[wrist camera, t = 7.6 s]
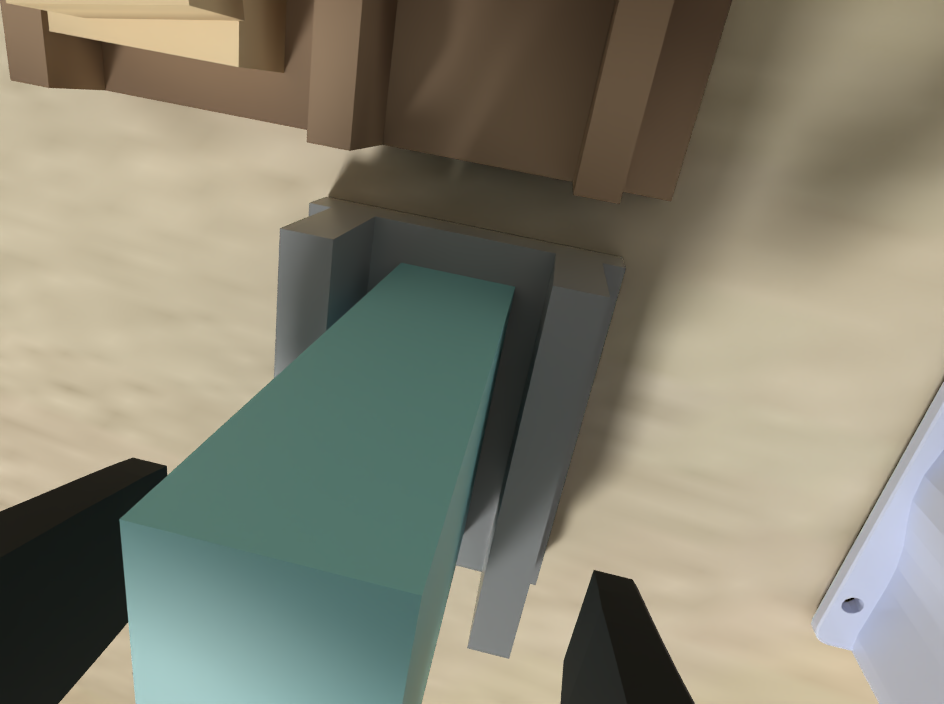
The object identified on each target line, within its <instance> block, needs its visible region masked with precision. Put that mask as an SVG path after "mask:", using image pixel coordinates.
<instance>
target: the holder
mask: <svg viewBox="0 0 944 704" xmlns="http://www.w3.org/2000/svg"><path fill="white" fill-rule="evenodd" d="M400 263H405V264H410V265H415V266H419V267H424V268H429V269H434V270H438V271H443V272H448V273H453V274H457V275H462V276H467V277H471V278H476V279H481V280H486V281H490V282H495V283H500V284H505V285H509V286H514V287H515V291H514V296H513V300H512V305H511V310H510V315H509V320H508V324H507V329H506V334H505V339H504V343H503V348H502V353H501V358H500V362H499V367H498V372H497V377H496V381H495V386H494V391H493V396H492V401H491V405H490V410H489V415H488V420H487V424H486V429H485V434H484V439H483V443H482V448H481V453H480V458H479V463H478V467H477V472H476V477H475V482H474V486H473V491H472V496H471V501H470V505H469V510H468V515H467V520H466V524H465V529H464V534H463V538H462V542H461V546H460V550H459V554H458V558H457V562H456V565H457V566H461V567H465V568H469V569H473V570H477V571H481V572H482V573H481V578H480V584H479V589H478V594H477V599H476V605H475V610H474V615H473V621H472V626H471V631H470V637H469V642H468V647H467V648H469V649H473V650H477V651H481V652H485V653H488V654H492V655H496V656H500V657H504V658H508V659H509V657H510V653H511V650H512V646H513V643H514V639H515V635H516V632H517V628H518V625H519V621H520V618H521V614H522V610H523V607H524V603H525V600H526V596H527V593H528V589H529V585H530V584H533V585H536V582H537V578H538V575H539V571H540V568H541V564H542V561H543V557H544V554H545V550H546V547H547V543H548V539H549V536H550V532H551V529H552V525H553V522H554V518H555V515H556V511H557V508H558V504H559V501H560V497H561V494H562V490H563V487H564V483H565V480H566V476H567V473H568V469H569V466H570V462H571V459H572V455H573V452H574V448H575V445H576V441H577V438H578V434H579V431H580V427H581V424H582V420H583V417H584V413H585V410H586V406H587V403H588V399H589V396H590V392H591V389H592V385H593V382H594V378H595V375H596V371H597V368H598V364H599V361H600V357H601V354H602V350H603V347H604V343H605V340H606V336H607V333H608V329H609V326H610V322H611V319H612V315H613V312H614V308H615V305H616V301H617V298H618V294H619V291H620V287H621V284H622V280H623V276H624V273H625V269H626V267H625V264H624V261H623V258H622V257H619V256H614V255H609V254H604V253H599V252H594V251H590V250H585V249H580V248H575V247H570V246H565V245H560V244H555V243H550V242H546V241H541V240H536V239H531V238H526V237H521V236H516V235H511V234H506V233H501V232H497V231H492V230H487V229H482V228H477V227H472V226H467V225H462V224H457V223H453V222H448V221H443V220H438V219H433V218H428V217H423V216H418V215H413V214H409V213H404V212H399V211H394V210H389V209H384V208H379V207H374V206H369V205H365V204H360V203H355V202H350V201H345V200H340V199H335V198H330V197H325V198H322V199H319V200H316V201H313V202H311V203H309V217H307V218H304V219H302V220H299V221H297V222H294V223H292V224H289V225H287V226H285V227H282V228H280V242H279V267H278V293H277V318H276V343H275V368H274V378H275V377H276V376H277V375H278V374H280V373H281V372H282V371H283V370H284V369H285V368H286V367H287V366H288V365H289V364H290V363H292V362H293V361H294V360H295V359H296V358H297V357H298V356H299V355H300V354H301V353H303V352H304V351H305V350H306V349H307V348H308V347H309V346H310V345H311V344H312V343H314V342H315V341H316V340H317V339H318V338H319V337H320V336H321V335H322V334H323V333H325V332H326V331H327V330H328V329H329V328H330V327H331V326H332V325H333V324H334V323H336V322H337V321H338V320H339V319H340V318H341V317H342V316H343V315H344V314H345V313H347V312H348V311H349V310H350V309H351V308H352V307H353V306H354V305H355V304H356V303H357V302H359V301H360V300H361V299H362V298H363V297H364V296H365V295H366V294H367V293H368V292H370V291H371V290H372V289H373V288H374V287H375V286H376V285H377V284H378V283H379V282H381V281H382V280H383V279H384V278H385V277H386V276H387V275H388V274H389V273H390V272H392V271H393V270H394V269H395V268H396V267H397V266H398V265H399V264H400Z"/></svg>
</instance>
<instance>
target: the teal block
mask: <svg viewBox="0 0 944 704" xmlns="http://www.w3.org/2000/svg"><path fill="white" fill-rule="evenodd" d="M514 291H515V287H514V286H509V285H505V284H500V283H495V282H490V281H486V280H481V279H476V278H471V277H467V276H462V275H457V274H453V273H448V272H443V271H438V270H434V269H429V268H424V267H419V266H415V265H410V264H405V263H400V264H399V265H398V266H397V267H396V268H395V269H394V270H393V271H392V272H390V273H389V274H388V275H387V276H386V277H385V278H384V279H383V280H382V281H381V282H379V283H378V284H377V285H376V286H375V287H374V288H373V289H372V290H371V291H370V292H368V293H367V294H366V295H365V296H364V297H363V298H362V299H361V300H360V301H359V302H357V303H356V304H355V305H354V306H353V307H352V308H351V309H350V310H349V311H348V312H347V313H345V314H344V315H343V316H342V317H341V318H340V319H339V320H338V321H337V322H336V323H334V324H333V325H332V326H331V327H330V328H329V329H328V330H327V331H326V332H325V333H323V334H322V335H321V336H320V337H319V338H318V339H317V340H316V341H315V342H314V343H312V344H311V345H310V346H309V347H308V348H307V349H306V350H305V351H304V352H303V353H301V354H300V355H299V356H298V357H297V358H296V359H295V360H294V361H293V362H292V363H290V364H289V365H288V366H287V367H286V368H285V369H284V370H283V371H282V372H281V373H280V374H278V375H277V376H276V377H275V378H274V379H273V380H272V381H271V382H270V383H269V384H267V385H266V386H265V387H264V388H263V389H262V390H261V391H260V392H259V393H258V394H256V395H255V396H254V397H253V398H252V399H251V400H250V401H249V402H248V403H247V404H245V405H244V406H243V407H242V408H241V409H240V410H239V411H238V412H237V413H236V414H234V415H233V416H232V417H231V418H230V419H229V420H228V421H227V422H226V423H225V424H224V425H222V426H221V427H220V428H219V429H218V430H217V431H216V432H215V433H214V434H213V435H211V436H210V437H209V438H208V439H207V440H206V441H205V442H204V443H203V444H202V445H200V446H199V447H198V448H197V449H196V450H195V451H194V452H193V453H192V454H191V455H189V456H188V457H187V458H186V459H185V460H184V461H183V462H182V463H181V464H180V465H178V466H177V467H176V468H175V469H174V470H173V471H172V472H171V473H170V474H169V475H167V476H166V477H165V478H164V479H163V480H162V481H161V482H160V483H159V484H158V485H157V486H155V487H154V488H153V489H152V490H151V491H150V492H149V493H148V494H147V495H146V496H144V497H143V498H142V499H141V500H140V501H139V502H138V503H137V504H136V505H135V506H133V507H132V508H131V509H130V510H129V511H128V512H127V513H126V514H125V515H124V516H122V517H121V518H120V519H119V521H120V532H121V543H122V554H123V566H124V577H125V588H126V600H127V611H128V622H129V633H130V645H131V656H132V667H133V679H134V690H135V701H136V704H421V703H422V699H423V695H424V691H425V687H426V683H427V679H428V675H429V671H430V667H431V663H432V659H433V655H434V651H435V647H436V643H437V639H438V635H439V631H440V627H441V623H442V619H443V615H444V611H445V607H446V603H447V599H448V594H449V590H450V586H451V582H452V578H453V574H454V570H455V566H456V562H457V558H458V554H459V550H460V546H461V542H462V538H463V534H464V529H465V524H466V520H467V515H468V510H469V505H470V501H471V496H472V491H473V486H474V482H475V477H476V472H477V467H478V463H479V458H480V453H481V448H482V443H483V439H484V434H485V429H486V424H487V420H488V415H489V410H490V405H491V401H492V396H493V391H494V386H495V381H496V377H497V372H498V367H499V362H500V358H501V353H502V348H503V343H504V339H505V334H506V329H507V324H508V320H509V315H510V310H511V305H512V300H513V296H514Z"/></svg>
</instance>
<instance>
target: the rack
mask: <svg viewBox="0 0 944 704" xmlns="http://www.w3.org/2000/svg"><path fill="white" fill-rule="evenodd" d="M731 2H732V0H287V5H286V31H285V58H284V73H280V72H272V71H265V70H257V69H249V68H241V67H235V66H230V65H225V64H219V63H214V62H209V61H204V60H198V59H193V58H188V57H183V56H177V55H172V54H167V53H162V52H156V51H151V50H146V49H141V48H135V47H130V46H125V45H119V44H114V43H109V42H104V41H98V40H93V39H88V38H83V37H77V36H72V35H67V34H62V33H56V32H51V31H49V22H48V13H47V11H45V10H40V9H35V8H29V7H24V6H19V5H14V4H8V3H6V0H0V3H1V11H2V18H3V26H4V33H5V41H6V49H7V56H8V64H9V71H10V79H11V80H12V81H17V82H22V83H27V84H32V85H38V86H43V87H48V88H66V89H90V90H107V91H112V92H117V93H122V94H127V95H132V96H137V97H143V98H148V99H153V100H158V101H163V102H168V103H173V104H178V105H183V106H188V107H193V108H199V109H204V110H209V111H214V112H219V113H224V114H229V115H234V116H239V117H244V118H250V119H255V120H260V121H265V122H270V123H275V124H280V125H285V126H290V127H295V128H300V129H306V130H307V142H308V143H313V144H318V145H323V146H329V147H334V148H339V149H344V150H349V151H351V150H357V149H362V148H367V147H373V146H378V145H387V146H392V147H397V148H402V149H407V150H412V151H418V152H423V153H428V154H433V155H438V156H443V157H448V158H453V159H458V160H463V161H469V162H474V163H479V164H484V165H489V166H494V167H499V168H504V169H509V170H514V171H519V172H525V173H530V174H535V175H540V176H545V177H550V178H555V179H560V180H565V181H570V182H573V195H576V196H581V197H586V198H591V199H596V200H601V201H606V202H611V203H617V204H620V201H621V197H622V193H623V192H626V193H632V194H637V195H642V196H647V197H652V198H657V199H662V200H667V201H671V200H672V197H673V194H674V190H675V187H676V184H677V180H678V177H679V174H680V171H681V167H682V164H683V161H684V157H685V154H686V151H687V147H688V144H689V141H690V138H691V134H692V131H693V128H694V124H695V121H696V118H697V114H698V111H699V108H700V104H701V101H702V98H703V95H704V91H705V88H706V85H707V81H708V78H709V75H710V71H711V68H712V65H713V62H714V58H715V55H716V52H717V48H718V45H719V42H720V38H721V35H722V32H723V29H724V25H725V22H726V19H727V15H728V12H729V9H730V5H731Z"/></svg>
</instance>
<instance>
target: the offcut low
mask: <svg viewBox="0 0 944 704" xmlns="http://www.w3.org/2000/svg"><path fill="white" fill-rule="evenodd" d="M286 5H287V0H243V9H244V19H245V21H225V20H165V19H104V18H82V17H77V16H71V15H66V14H61V13H56V12H50V11H47V13H48V22H49V31H51V32H56V33H62V34H67V35H72V36H77V37H83V38H88V39H93V40H98V41H104V42H109V43H114V44H119V45H125V46H130V47H135V48H141V49H146V50H151V51H156V52H162V53H167V54H172V55H177V56H183V57H188V58H193V59H198V60H204V61H209V62H214V63H219V64H225V65H230V66H235V67H241V68H249V69H257V70H265V71H272V72H280V73H284V58H285V31H286Z"/></svg>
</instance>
